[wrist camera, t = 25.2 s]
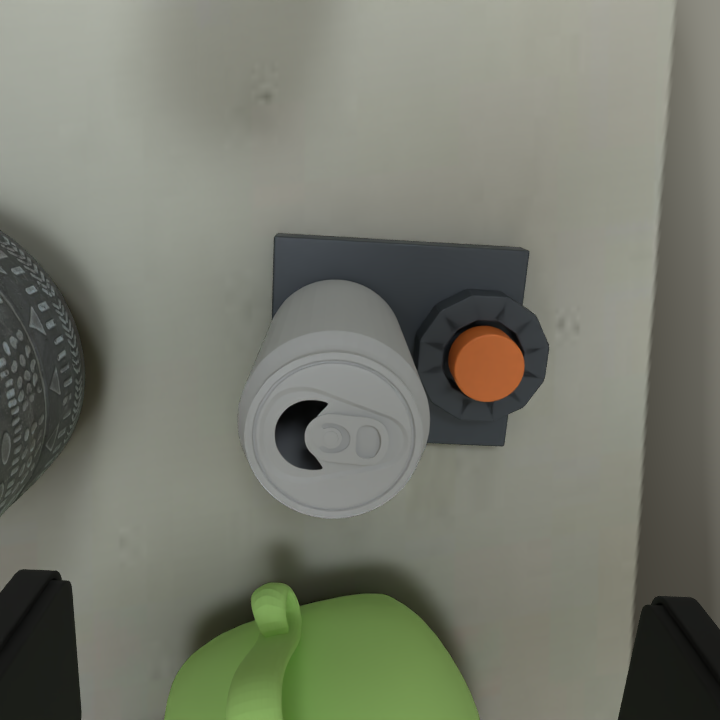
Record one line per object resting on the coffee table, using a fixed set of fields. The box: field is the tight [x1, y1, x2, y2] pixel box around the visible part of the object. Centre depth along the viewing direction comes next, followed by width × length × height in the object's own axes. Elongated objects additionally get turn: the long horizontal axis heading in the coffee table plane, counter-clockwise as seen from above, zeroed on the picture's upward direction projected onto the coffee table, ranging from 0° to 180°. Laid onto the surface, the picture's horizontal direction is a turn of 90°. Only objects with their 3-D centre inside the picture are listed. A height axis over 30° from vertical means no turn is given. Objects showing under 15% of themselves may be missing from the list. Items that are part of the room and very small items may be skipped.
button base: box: [272, 233, 549, 446], centre depth 32 cm, size 13×10×3 cm
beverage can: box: [238, 280, 430, 519], centre depth 27 cm, size 6×6×12 cm
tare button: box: [448, 326, 525, 402], centre depth 31 cm, size 3×3×2 cm
